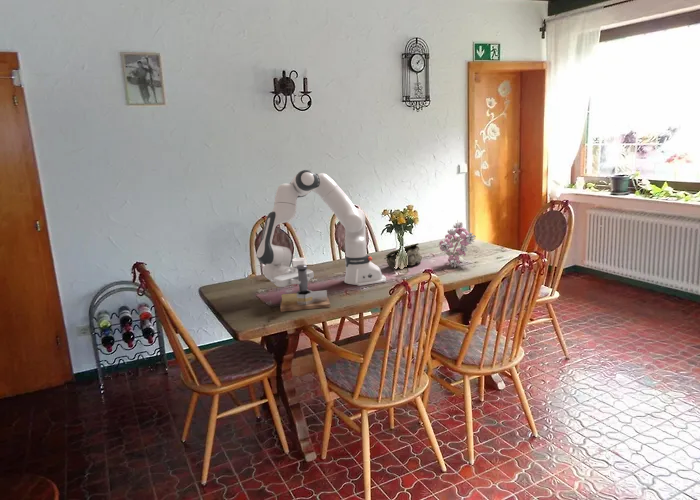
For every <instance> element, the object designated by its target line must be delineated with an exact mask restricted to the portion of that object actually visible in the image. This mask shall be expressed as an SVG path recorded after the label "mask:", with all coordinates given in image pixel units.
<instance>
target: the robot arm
mask: <svg viewBox="0 0 700 500" xmlns="http://www.w3.org/2000/svg"><path fill="white" fill-rule="evenodd" d="M311 192H314V193H316V194H317V195H318V196H319V198H320V199H321V200H322V201H323V202H324V203H325V204H326V205H327V207H328V208H329V209H330V210H331V211H332V212H333V214H334V216H335V218H336V219H337V220H338V221H339V223H340V224H341V225H342V226H343V227H344V238H345V239H344V244H345V245H344V246H345V257H344V263H345V265H344V266H345V276H344V277H345V278H344V281H343V282H344V283H345V284H348V285H354V286H365V285H372V284H380V283H385V282H386V281H387V277H386V276H385V275H384V274H383V273H382V270H381V268H380V267H379V266H378V265H377V264H375V263H373V261H372V260H373V257H372V256H371V255H369V254H367V237H366V236H367V235H366V234H367V233H366V232H367V230H366V215H365V212H364V210H362V208H359V207H356V206H355V205H354V203H353V202H352V201H351V199H350V198H349V196H348V195H347V193H346V192H344V190H343V189H342V188H341V187H340V186H339V185H338V183H336V181H335V180H334V179H333V178H332V177H330V176H329V175H328V174H326V173H325V172H320V173H316V172H313V171H311V170H309V169H302V170H301V171H299V172H298V173H297V174H295V175H294V177H293V179H292V180H291V181H290V183H286V182H284V183H281V184H279V186H277V189H276V193H275V197H274V205H273V208H272V210H271V212H269V213H267V217H266V219H265V222H264V227H263V230H262V234H261V239H260V242H259V245H258V247H257V249H256V253H255V255H256V259H257V260H258V261H259V263H260V264H262V265H264V267H263V269H262V273H263V275H264V277H265V278H266V279H267V280H269V281H270V282H271V283H272V284H274V285H275V286H276V287H278V288H284V287H288V286H291V285H299V284H301V281H300V280H299V278H298V269H297V267H293V266H291V265H292V264H293V263H292V259H294V258H293V253H292V250H291V249H290V247H286V246H281V245H276V244H273V238H274V234H275V230H276V227H277V226H278V225H280V224H286V223H288V222H290V221H292V220H293V219H294V218H295V216H296V212H297V200H298V198H303V197H305V196H307V195H308V194H309V193H311ZM306 270H307V283H309V282H311V280H312V279H313V280H314V277H315V276H314V275H315V274H314V271H313V270H311V269H308V268H307V269H306Z"/></svg>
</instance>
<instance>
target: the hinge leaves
mask: <svg viewBox="0 0 700 500" xmlns="http://www.w3.org/2000/svg"><path fill="white" fill-rule="evenodd" d="M327 291H328V290H327V289H326V290H315V291H314V290H313V291H312V290H309V289H308V294H305V295H304V294H300V292H299V290H297V291H296V292H293V293H283V294H281V301H282V305H287V304H298V305H308V304H312V303H313V302H319V301H327V297H328V294H327V293H328V292H327Z"/></svg>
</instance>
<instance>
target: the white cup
mask: <svg viewBox="0 0 700 500" xmlns="http://www.w3.org/2000/svg"><path fill="white" fill-rule="evenodd" d="M291 264H292V267H297V265H302V264H304V265H307V258H306V257H295V258H293V259H292V263H291Z"/></svg>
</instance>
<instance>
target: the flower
mask: <svg viewBox="0 0 700 500" xmlns="http://www.w3.org/2000/svg"><path fill="white" fill-rule="evenodd" d="M463 226H464V224H463V222H460V221H458V219H457V221H456V222H455V224H453V226H452V227H453V228H451V229H447V233H448V234H445V235H444V238H445V239H444V240H443V239H442V240H440V241H439V244H437V246H436V248H439V250H440V251H442V252H445V255H446V256H448V258H447V261H448V263H449V265H450V268H456V267H458V266H459V264H460V263H465V260H464V258H463V257H466V255H467V253H466V252H467V251H468V250H469V249H468V248H467V246H469V245H473V243H474V242H475V239H476V235H475V234H474V233H473V232H469V231H468V230H467V229H466V228H465V227H463ZM456 234H457V235H458V236H457V235H456ZM454 243H455V246H454ZM459 244H460V247H458V245H459ZM453 247H454V248H453ZM452 248H453V250H452V251H451V249H452ZM462 256H463V257H462Z"/></svg>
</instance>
